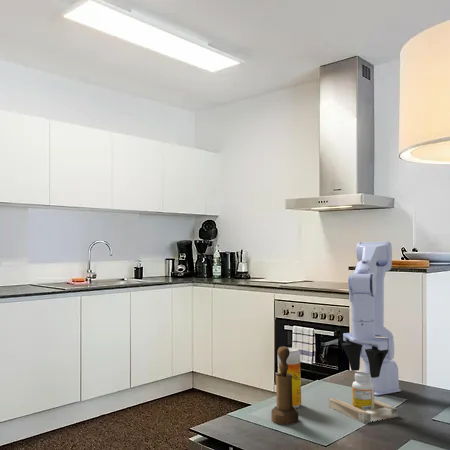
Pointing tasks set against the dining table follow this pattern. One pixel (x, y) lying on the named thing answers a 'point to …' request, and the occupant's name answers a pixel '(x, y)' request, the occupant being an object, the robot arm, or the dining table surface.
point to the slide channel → (364, 416)
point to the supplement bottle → (363, 392)
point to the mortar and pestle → (284, 393)
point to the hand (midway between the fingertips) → (364, 373)
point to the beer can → (294, 374)
